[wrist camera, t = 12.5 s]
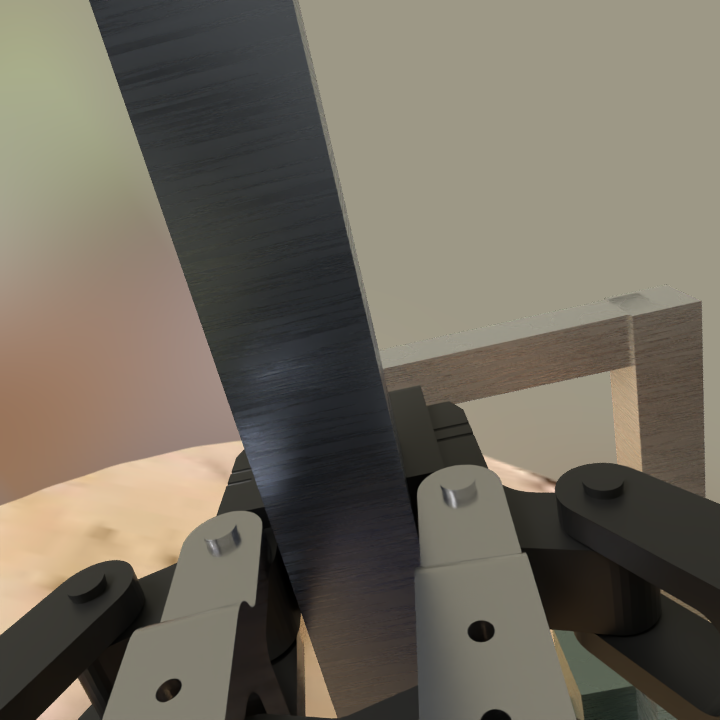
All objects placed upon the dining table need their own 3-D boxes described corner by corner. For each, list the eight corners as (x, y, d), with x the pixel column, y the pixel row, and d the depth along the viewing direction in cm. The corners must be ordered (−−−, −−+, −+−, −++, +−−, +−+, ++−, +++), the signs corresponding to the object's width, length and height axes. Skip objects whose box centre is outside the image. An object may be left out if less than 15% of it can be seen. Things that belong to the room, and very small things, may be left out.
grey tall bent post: (848, 915, 26) (921, 318, 16) (434, 979, 27) (260, 459, 17) (665, 630, 40) (644, 230, 31) (403, 680, 42) (300, 308, 32)
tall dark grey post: (477, 792, 11) (-86, -1624, 3) (369, 810, 11) (-421, -1468, 3) (429, 552, 17) (195, -479, 9) (360, 566, 17) (73, -441, 9)
